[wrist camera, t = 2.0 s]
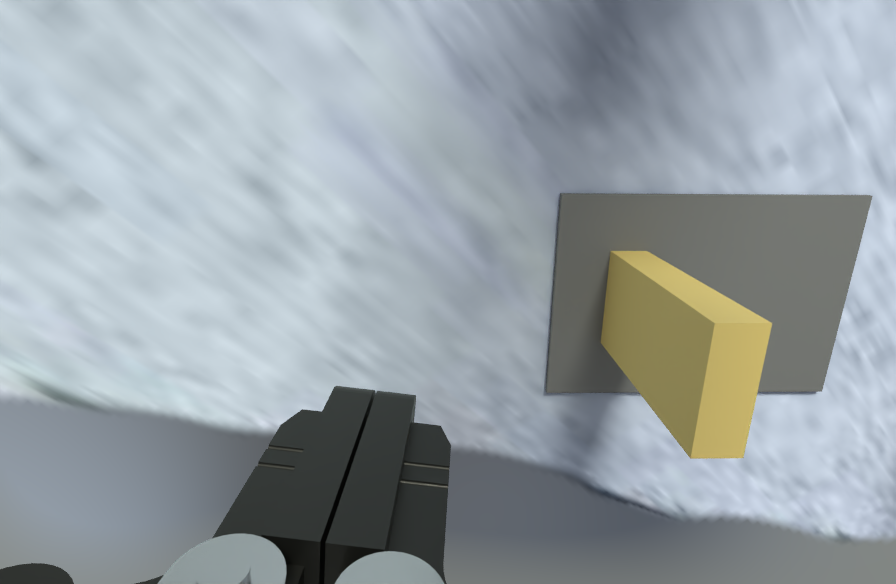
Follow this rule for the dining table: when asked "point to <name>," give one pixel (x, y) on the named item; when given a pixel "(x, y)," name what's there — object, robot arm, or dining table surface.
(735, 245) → the mat
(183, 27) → the dining table surface
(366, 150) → the dining table surface
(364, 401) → the robot arm
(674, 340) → the box
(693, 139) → the dining table surface
